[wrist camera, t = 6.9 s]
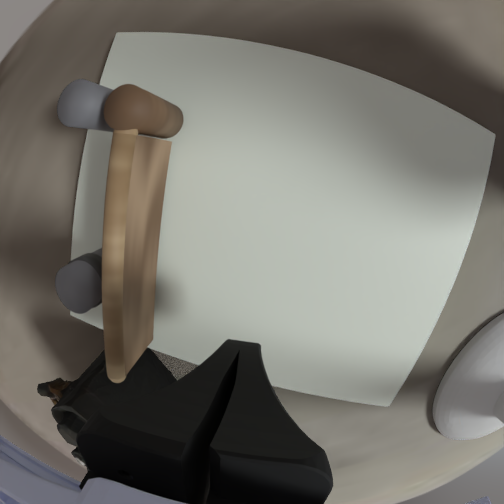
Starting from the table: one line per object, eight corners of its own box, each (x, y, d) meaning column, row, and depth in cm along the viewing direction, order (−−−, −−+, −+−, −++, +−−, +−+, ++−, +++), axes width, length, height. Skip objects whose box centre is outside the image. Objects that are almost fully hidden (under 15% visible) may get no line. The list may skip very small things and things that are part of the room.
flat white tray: (488, 135, 13) (550, 130, 8) (385, 399, 18) (405, 459, 13) (123, 36, 14) (69, 2, 8) (76, 310, 19) (26, 348, 13)
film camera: (61, 393, 22) (1, 462, 12) (104, 306, 19) (4, 394, 9) (218, 494, 23) (198, 575, 14) (309, 445, 20) (309, 557, 10)
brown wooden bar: (153, 102, 14) (108, 84, 9) (186, 104, 14) (149, 83, 9) (132, 339, 17) (97, 380, 13) (159, 348, 17) (129, 392, 13)
